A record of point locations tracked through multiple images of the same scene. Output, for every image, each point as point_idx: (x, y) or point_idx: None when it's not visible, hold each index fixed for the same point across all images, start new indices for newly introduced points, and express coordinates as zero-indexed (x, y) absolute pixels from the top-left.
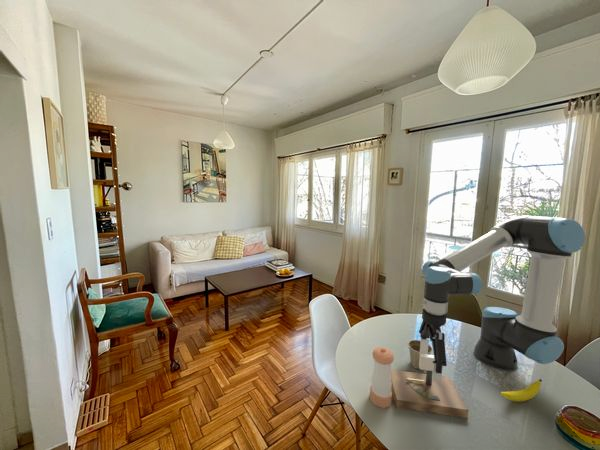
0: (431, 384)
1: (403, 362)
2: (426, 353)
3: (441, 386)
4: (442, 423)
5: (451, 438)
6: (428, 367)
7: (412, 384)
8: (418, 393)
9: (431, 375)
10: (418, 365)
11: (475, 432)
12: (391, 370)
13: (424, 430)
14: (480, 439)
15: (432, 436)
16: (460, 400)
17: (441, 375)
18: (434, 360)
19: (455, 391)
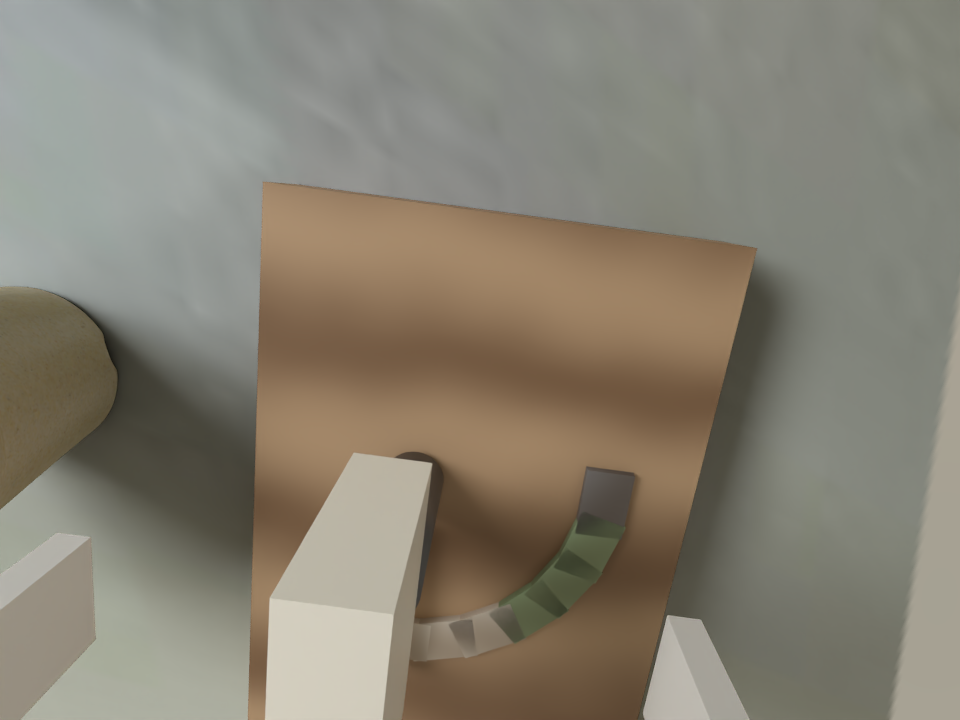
0: (435, 467)
1: (39, 500)
2: (58, 580)
3: (436, 357)
4: (754, 480)
5: (881, 480)
6: (407, 659)
7: (442, 635)
8: (545, 618)
9: (429, 540)
10: (90, 418)
11: (857, 261)
12: None
13: (799, 628)
14: (921, 260)
15: (850, 598)
16: (630, 258)
17: (735, 698)
18: (389, 702)
19: (504, 240)
